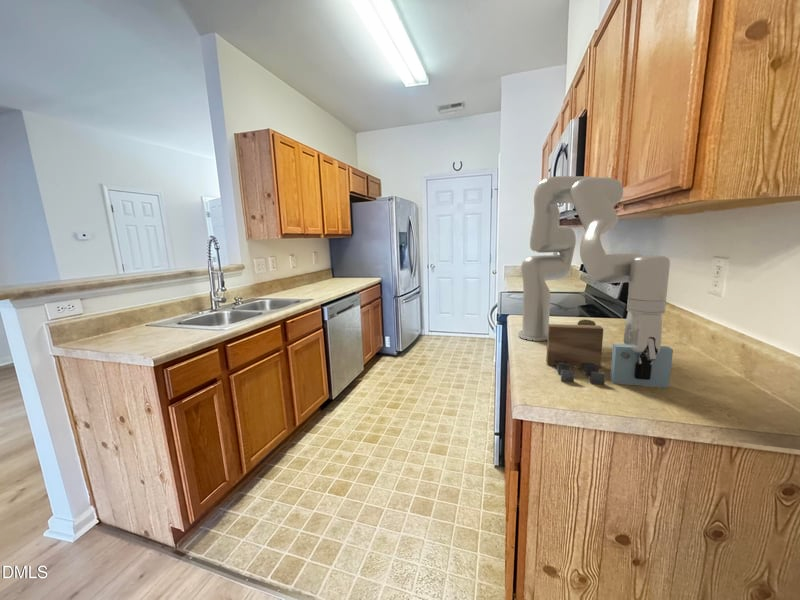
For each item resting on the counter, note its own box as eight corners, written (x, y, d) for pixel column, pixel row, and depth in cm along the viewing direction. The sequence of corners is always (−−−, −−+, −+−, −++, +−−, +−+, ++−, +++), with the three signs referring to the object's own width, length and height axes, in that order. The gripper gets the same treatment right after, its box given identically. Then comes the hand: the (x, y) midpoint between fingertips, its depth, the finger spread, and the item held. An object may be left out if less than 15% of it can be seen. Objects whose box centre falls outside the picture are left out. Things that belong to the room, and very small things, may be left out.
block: (610, 379, 86) (613, 343, 84) (664, 383, 82) (668, 346, 80) (614, 385, 82) (617, 348, 81) (671, 390, 79) (675, 351, 77)
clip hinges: (555, 365, 96) (555, 356, 96) (592, 368, 93) (593, 358, 93) (561, 381, 86) (561, 370, 85) (604, 384, 83) (605, 373, 82)
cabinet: (546, 361, 100) (547, 323, 98) (597, 364, 96) (599, 325, 94) (547, 365, 97) (549, 326, 95) (600, 368, 93) (603, 328, 91)
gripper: (617, 299, 88) (612, 363, 91) (641, 312, 73) (634, 388, 76) (649, 300, 86) (643, 365, 89) (681, 313, 71) (672, 391, 74)
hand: (639, 375), depth 82 cm, fingers open, 3 cm apart
